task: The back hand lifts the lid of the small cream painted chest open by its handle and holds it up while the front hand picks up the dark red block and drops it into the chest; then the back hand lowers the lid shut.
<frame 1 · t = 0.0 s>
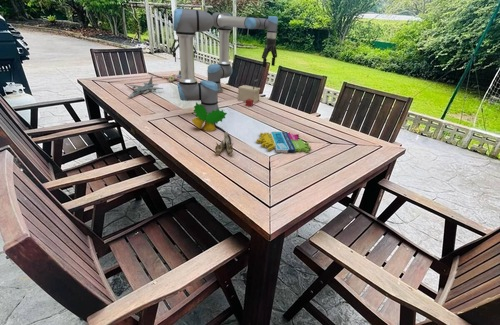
front hand: (184, 61, 211), 28 cm above the table, tool pointing down, fingers open, 13 cm apart
back hand: (268, 66, 217), 28 cm above the table, tool pointing down, fingers open, 13 cm apart
ornament: (209, 128, 165), on the table
lid: (249, 83, 219), point 14 cm above the table, hinge at -0.1°
airplane: (144, 92, 226), on the table
chest: (248, 100, 226), on the table
sign: (281, 143, 152), on the table
jawbone: (224, 151, 138), on the table
block: (249, 105, 213), on the table
toy: (176, 79, 277), on the table
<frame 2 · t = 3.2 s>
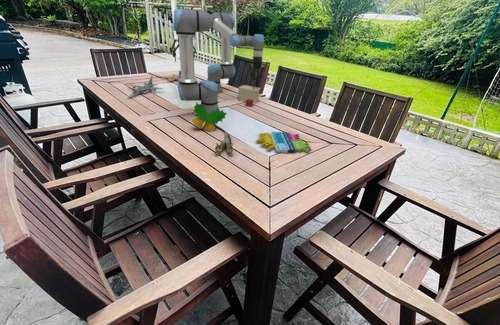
front hand: (184, 61, 211), 28 cm above the table, tool pointing down, fingers open, 13 cm apart
back hand: (255, 86, 217), 13 cm above the table, tool pointing down, fingers closed on lid, 2 cm apart
lid: (249, 83, 219), point 14 cm above the table, hinge at -0.1°, touching back hand
everything else where it was.
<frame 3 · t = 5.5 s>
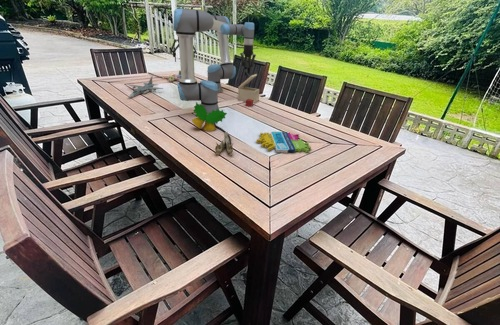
front hand: (184, 61, 211), 28 cm above the table, tool pointing down, fingers open, 13 cm apart
back hand: (247, 75, 217), 21 cm above the table, tool pointing down, fingers closed on lid, 2 cm apart
lid: (245, 77, 218), point 19 cm above the table, hinge at 43.6°, touching back hand
everything else where it was.
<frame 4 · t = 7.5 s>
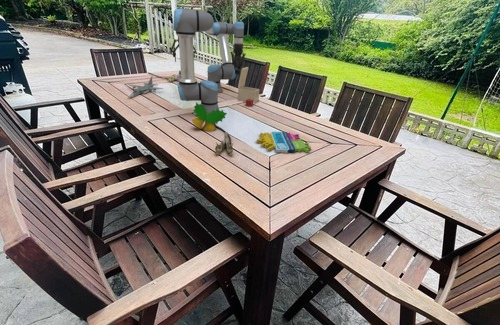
front hand: (184, 61, 211), 28 cm above the table, tool pointing down, fingers open, 13 cm apart
back hand: (237, 74, 220), 20 cm above the table, tool pointing down, fingers closed on lid, 2 cm apart
lid: (239, 76, 220), point 19 cm above the table, hinge at 79.2°, touching back hand
everything else where it was.
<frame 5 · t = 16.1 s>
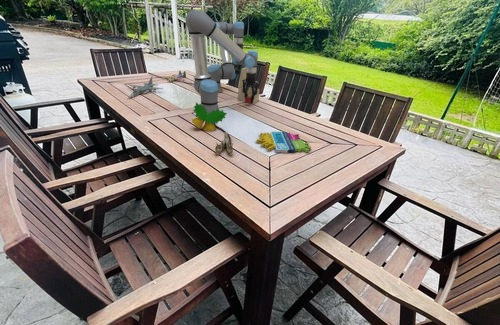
front hand: (248, 102, 211), 3 cm above the table, tool pointing down, fingers closed on block, 5 cm apart
back hand: (237, 74, 220), 20 cm above the table, tool pointing down, fingers closed on lid, 2 cm apart
lid: (239, 76, 220), point 19 cm above the table, hinge at 79.5°, touching back hand
block: (248, 102, 211), point 2 cm above the table, touching front hand
everything else where it was.
when the front hand's fingers open (17 cm above the table, at t = 19.2 s): block drops 13 cm and tips over, resting on chest.
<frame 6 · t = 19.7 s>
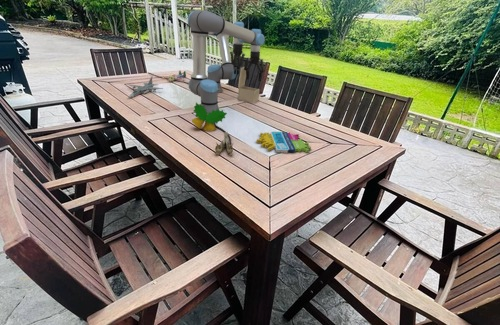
front hand: (253, 80, 216), 18 cm above the table, tool pointing down, fingers open, 10 cm apart
back hand: (236, 74, 220), 20 cm above the table, tool pointing down, fingers closed on lid, 2 cm apart
lid: (239, 75, 220), point 19 cm above the table, hinge at 84.3°, touching front hand, back hand
chest: (248, 100, 226), on the table, touching block
block: (249, 96, 224), point 3 cm above the table, tilted 89°, touching chest
everything else where it was.
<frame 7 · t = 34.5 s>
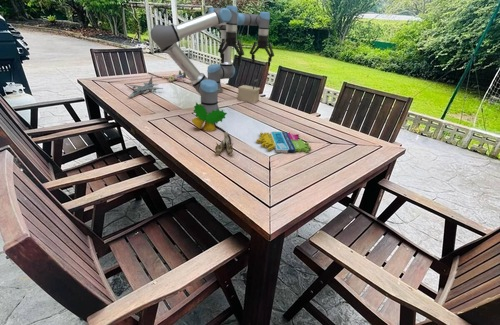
front hand: (230, 64, 190), 32 cm above the table, tool pointing down, fingers open, 13 cm apart
back hand: (260, 64, 208), 30 cm above the table, tool pointing down, fingers open, 13 cm apart
lid: (249, 83, 219), point 14 cm above the table, hinge at -0.1°
everything else where it was.
at the end: block inside the target area in the chest (0.4 cm from its centre), point 3.1 cm above the chest's base; lid at +0° (first picture: +0°); the front hand is holding nothing; the back hand is holding nothing; chest tilted 0°; chest moved 0.1 cm from its start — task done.
